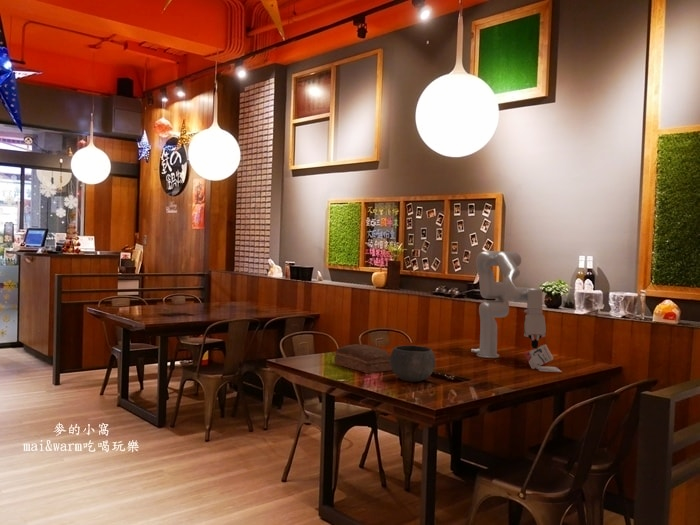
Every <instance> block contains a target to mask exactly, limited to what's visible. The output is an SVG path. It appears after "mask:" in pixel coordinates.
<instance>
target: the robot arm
mask: <svg viewBox="0 0 700 525" xmlns="http://www.w3.org/2000/svg"><path fill="white" fill-rule="evenodd" d="M475 260H476V261H475V266H476V270H477V273H478V281H479V282H478V283H479V292H480V296H481V297H482V299H483V298H484V299H489V300H486V301H483V302H480V304H479V306H478V307H479V308H478V314H479V320H480V321H479V322H480V323H479V324H480V328H479V329H480V331H479V333H480V334H479V347H478V348H471V350H470V351H471V353H476V356H477V357H479V358H486V359H497V358H498V359H499V357H500V354H498V352H497V351H498V323H497V320H496V318H506V317H507V316H508V315H509V314H510V313H509V312H510V304H509V303H510V302H509V299H510V300H511V301H512V302H517V303H519V302H520V303H521V302H522V303H523V302H524V303H525V302H526V306H527V307H526V309H524V310H523V312H524V313H526V315H525V318H524V326H523V327H524V328H523V332H524V333H523V337H527V338H529V339H530V341H531V342H530V343H531V347H532V349H535V348H536V349H537V348H538V347H539V340H540V339H541V338H546V333H547V330H546V329H547V326H546V318H545V315H543V290H542V288H537V287H536V288H535V287H525V286H524V287H522V286H520V287H519V286H518V287H517V286H516V285H515V284H514V282H513V281H515V280H516V279H517V278H518V277H519V276H520V275H521V270H520V269H519V266H520V265H521V263H522V256H520V254H519V253H518V252H517V251H505V250H504V251H501V250H500V251H499V250H484V251H481V252H479V253H478V254H477V257H476V259H475ZM491 267H498V268H499V270H500V271H501V274H502V275H503V276H504V279H503V280H504V282H501V281H496V280H495V274H494V271H493V269H492V268H491ZM490 299H495V300H490ZM534 335H535V337H534Z"/></svg>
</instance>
